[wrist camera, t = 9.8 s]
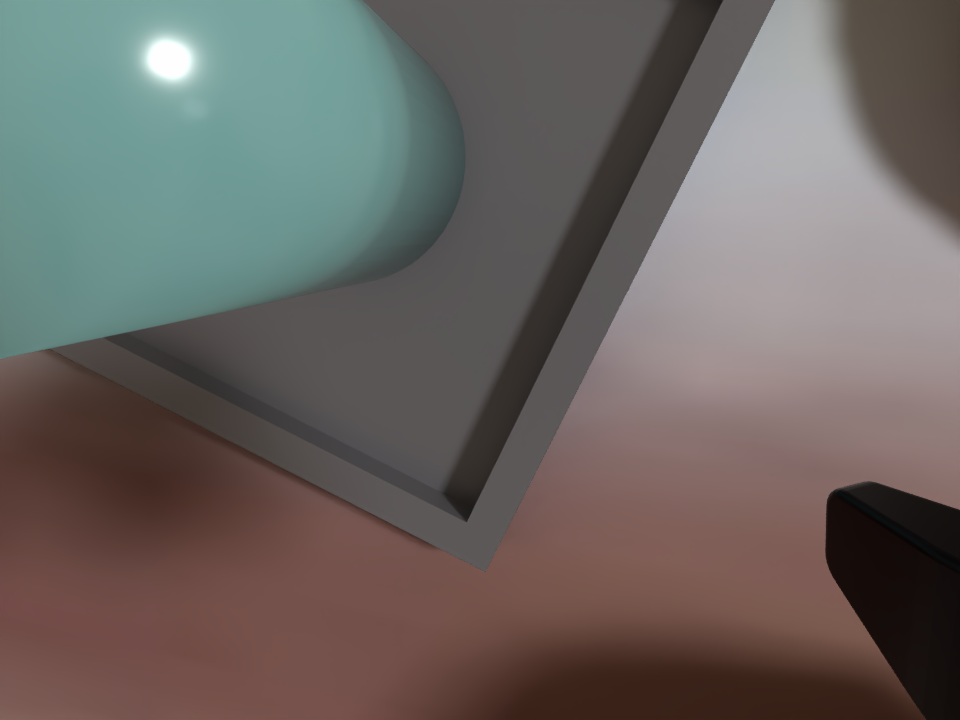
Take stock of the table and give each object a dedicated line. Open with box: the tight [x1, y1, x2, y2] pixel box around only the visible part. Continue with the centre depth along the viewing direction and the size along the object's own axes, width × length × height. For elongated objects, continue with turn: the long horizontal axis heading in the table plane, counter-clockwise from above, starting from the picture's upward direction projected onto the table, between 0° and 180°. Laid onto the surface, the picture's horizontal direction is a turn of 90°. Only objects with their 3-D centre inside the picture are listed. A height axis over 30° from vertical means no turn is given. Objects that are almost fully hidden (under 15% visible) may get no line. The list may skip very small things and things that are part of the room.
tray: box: [50, 0, 775, 572], centre depth 19 cm, size 16×16×2 cm
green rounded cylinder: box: [0, 0, 465, 359], centre depth 13 cm, size 6×6×12 cm
